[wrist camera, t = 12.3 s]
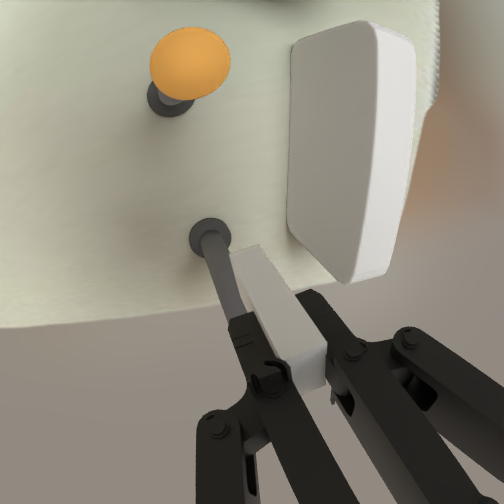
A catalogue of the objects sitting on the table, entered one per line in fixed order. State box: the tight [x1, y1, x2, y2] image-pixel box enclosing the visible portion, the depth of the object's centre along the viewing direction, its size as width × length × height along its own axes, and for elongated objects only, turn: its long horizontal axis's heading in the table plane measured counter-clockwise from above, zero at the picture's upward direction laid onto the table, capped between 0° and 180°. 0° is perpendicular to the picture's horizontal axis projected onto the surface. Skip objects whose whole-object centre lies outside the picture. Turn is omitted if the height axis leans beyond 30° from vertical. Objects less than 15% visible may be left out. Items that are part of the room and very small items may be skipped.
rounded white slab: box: [286, 20, 416, 285], centre depth 31 cm, size 29×8×18 cm, turn 0°
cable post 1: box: [147, 27, 230, 117], centre depth 20 cm, size 6×6×24 cm
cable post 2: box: [189, 218, 248, 324], centre depth 31 cm, size 6×6×24 cm
